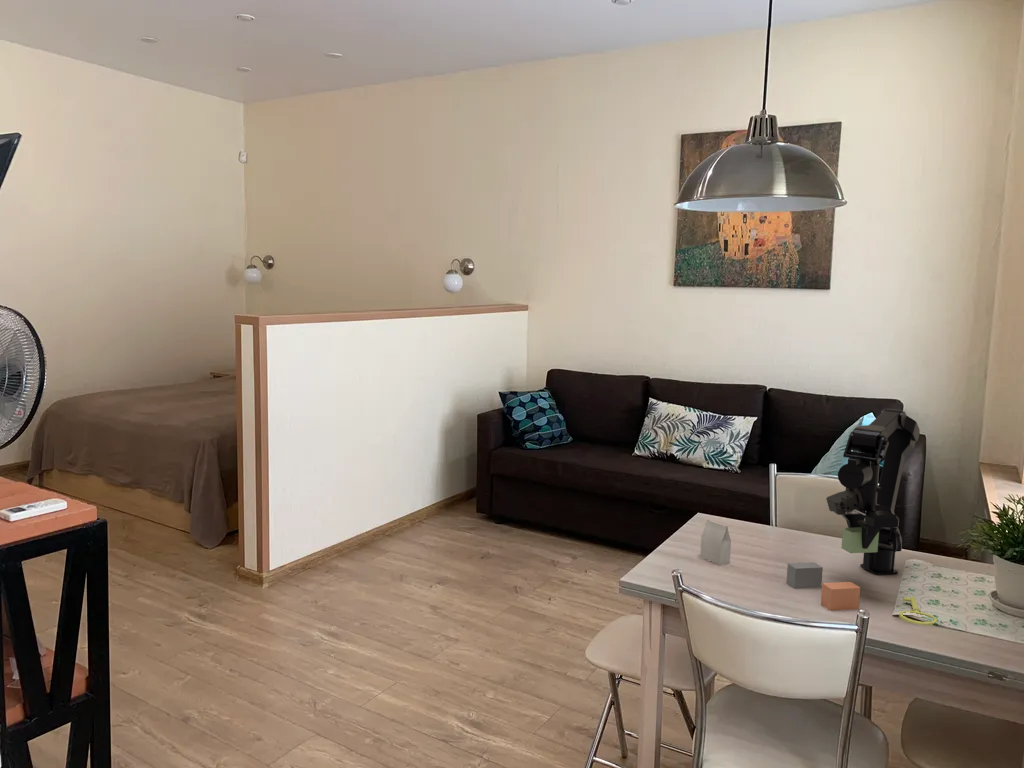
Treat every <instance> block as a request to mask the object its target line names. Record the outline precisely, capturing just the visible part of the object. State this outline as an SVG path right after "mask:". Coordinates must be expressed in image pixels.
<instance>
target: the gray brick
mask: <svg viewBox="0 0 1024 768" xmlns="http://www.w3.org/2000/svg"><path fill="white" fill-rule="evenodd" d="M823 568H824V567H823V566H821V565H820V564H818V563H816V562H814V561H811V562H810V561H808V562H793V563H792V562H788V563H787V571H786V584H787V585H789V586H790V587H792V588H793V589H811V588H815V589H816V588H822V583H823V582H822V581H823V570H824V569H823Z"/></svg>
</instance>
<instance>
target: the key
mask: <svg viewBox="0 0 1024 768" xmlns="http://www.w3.org/2000/svg"><path fill="white" fill-rule="evenodd" d="M902 601H903V602H909V603H910V606H911V605H912V606H911V610H912V611H911V610H902V611H900V612H899V614H898V617H899V619H900V620H902V621H904V622H908V623H910V624H913V625H914V624H915V625H919V626H920V625H921V626H929V625H932V626H934V625H933V624H934V623H936V622H937V623H938V619H937V617H936V616H934V615H932V614H929V613H926V612H922V611H921V609H920V608H919V606H918V602H917V600H916V597H915V596H910V597H908V596H903V597H902ZM912 608H913V609H912ZM906 612H910V613H916V614H920V615H925V616H928V617H931V618H933V619H934V621H931V620H929V621H919V620H914V619H911V618H908V617H907V616H903V613H906Z"/></svg>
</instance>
